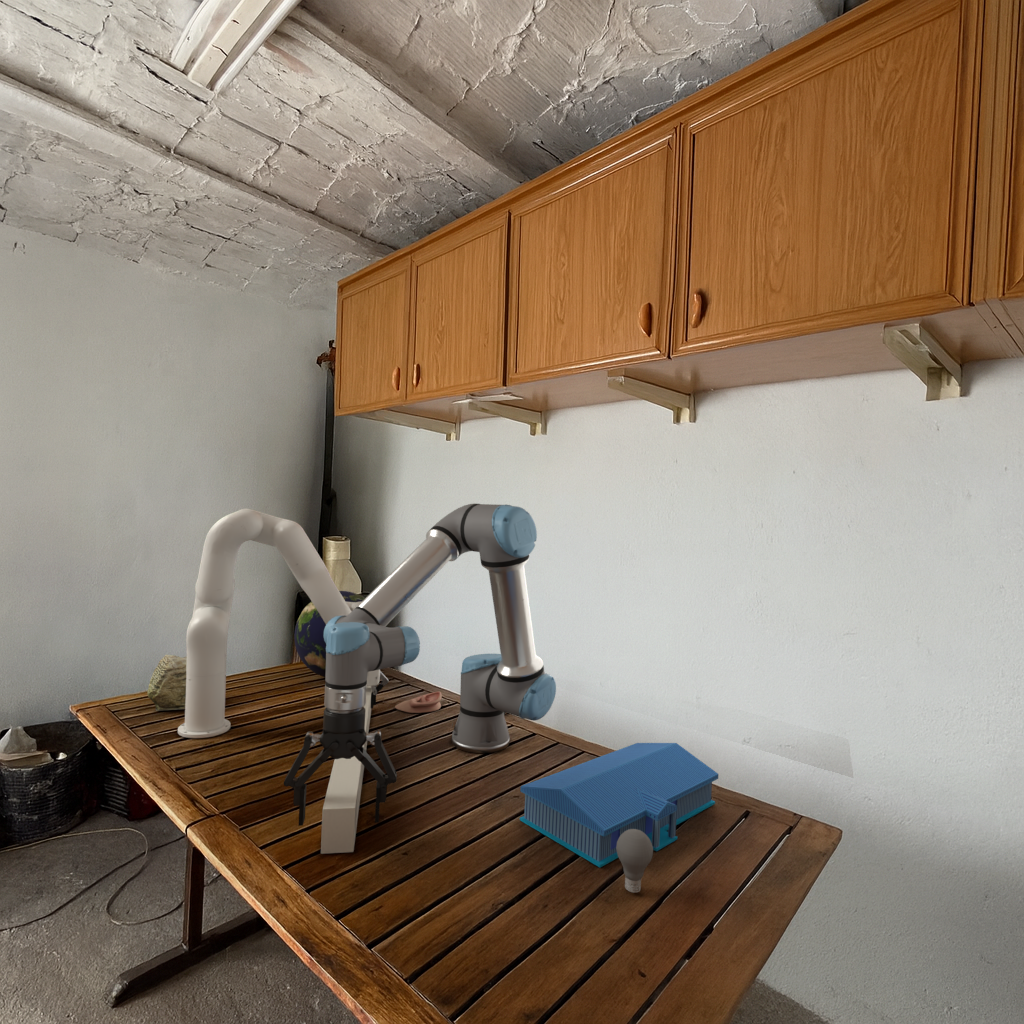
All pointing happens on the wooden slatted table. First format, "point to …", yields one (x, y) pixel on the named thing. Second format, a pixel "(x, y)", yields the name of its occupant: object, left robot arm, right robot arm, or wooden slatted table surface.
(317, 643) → the globe
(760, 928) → the wooden slatted table surface
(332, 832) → the post
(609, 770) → the model building
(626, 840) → the light bulb
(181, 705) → the fossil
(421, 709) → the anatomical model
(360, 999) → the wooden slatted table surface
